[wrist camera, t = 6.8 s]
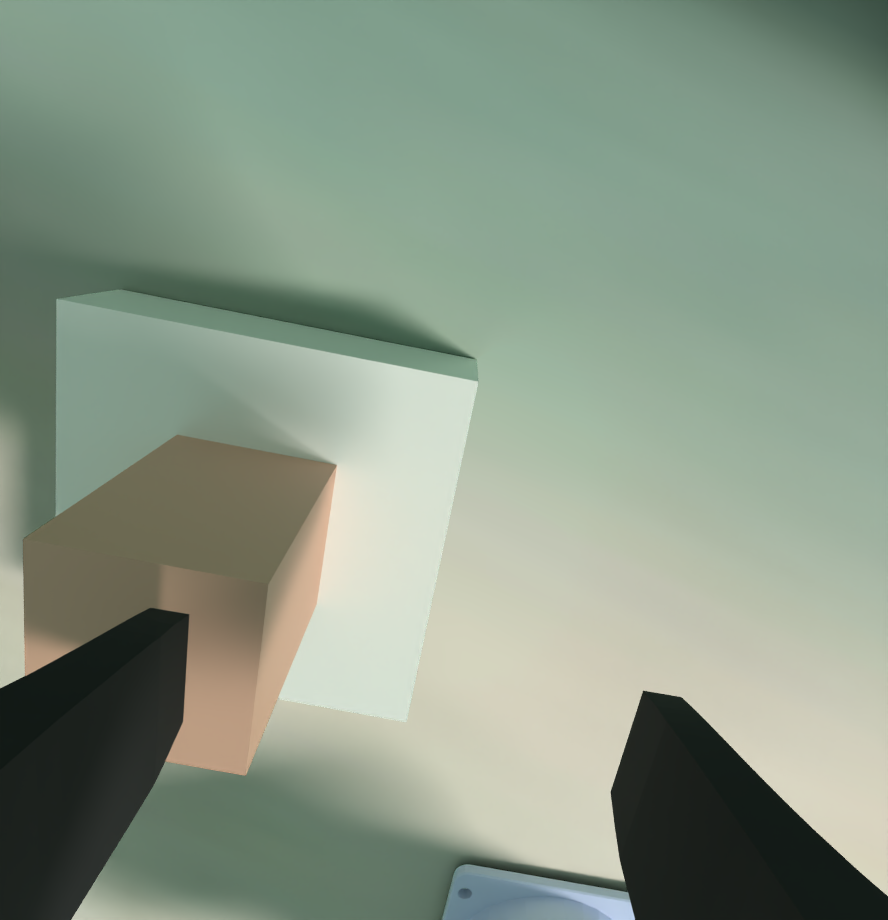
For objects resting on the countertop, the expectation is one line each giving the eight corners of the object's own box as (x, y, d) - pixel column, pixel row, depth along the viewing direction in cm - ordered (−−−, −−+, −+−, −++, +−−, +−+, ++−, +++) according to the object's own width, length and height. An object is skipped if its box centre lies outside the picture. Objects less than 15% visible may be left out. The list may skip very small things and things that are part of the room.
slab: (414, 659, 22) (406, 721, 19) (109, 602, 21) (54, 658, 19) (476, 359, 19) (478, 381, 16) (120, 289, 18) (56, 298, 15)
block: (316, 603, 18) (245, 775, 12) (167, 576, 18) (25, 737, 12) (337, 464, 17) (268, 584, 11) (177, 434, 16) (22, 538, 11)
